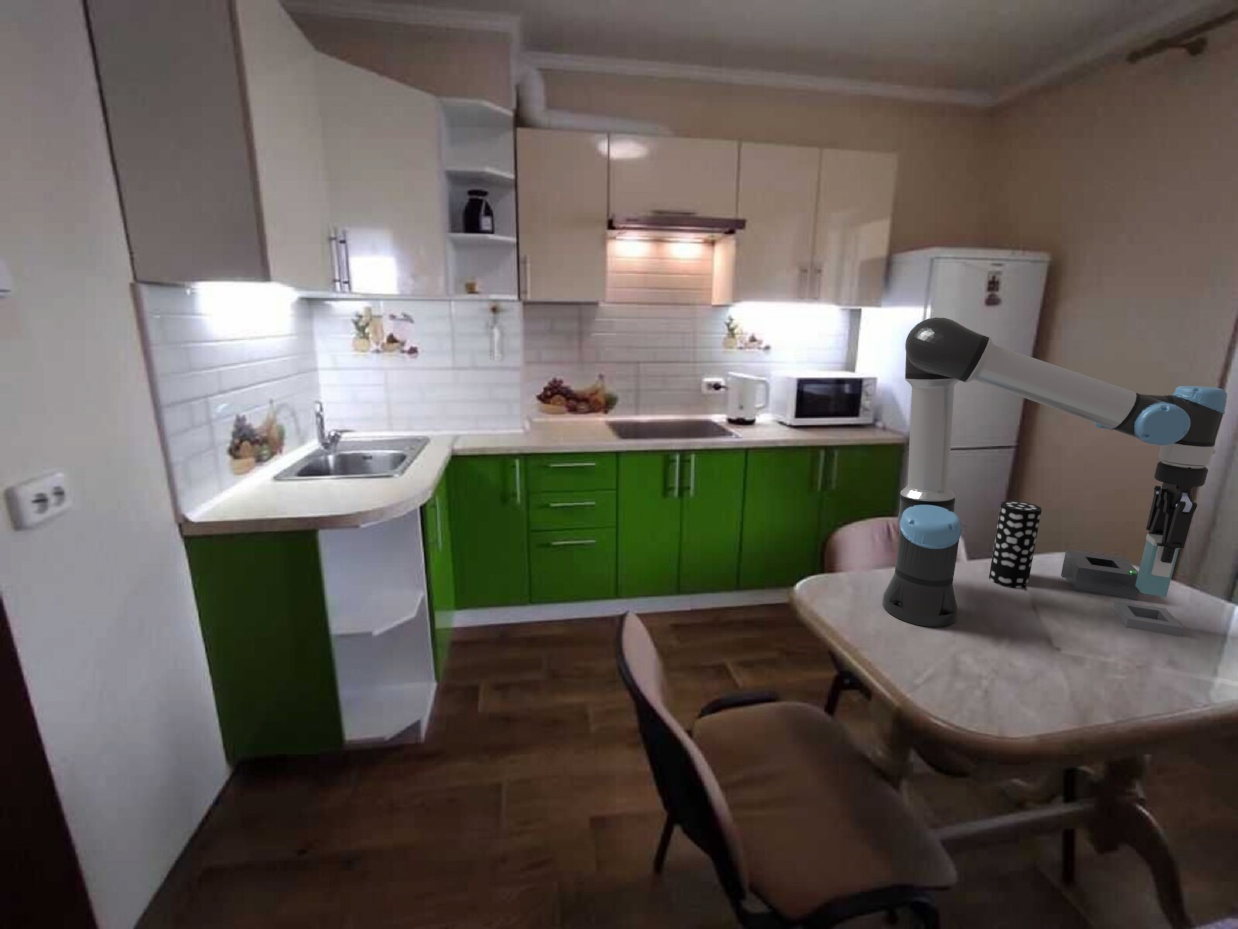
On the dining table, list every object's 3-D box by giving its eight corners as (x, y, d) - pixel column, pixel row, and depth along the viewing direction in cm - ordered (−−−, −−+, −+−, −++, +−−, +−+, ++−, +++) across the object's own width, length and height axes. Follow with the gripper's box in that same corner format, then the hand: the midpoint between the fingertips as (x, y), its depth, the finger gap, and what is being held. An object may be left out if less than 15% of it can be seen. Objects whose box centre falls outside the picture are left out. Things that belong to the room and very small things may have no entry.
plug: (1141, 593, 123) (1154, 540, 121) (1134, 585, 127) (1147, 533, 124) (1167, 597, 122) (1181, 543, 119) (1159, 589, 125) (1172, 536, 123)
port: (1073, 594, 141) (1078, 565, 139) (1060, 575, 151) (1066, 548, 150) (1136, 604, 136) (1143, 574, 134) (1119, 583, 147) (1125, 556, 145)
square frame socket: (1125, 631, 124) (1128, 618, 123) (1111, 612, 132) (1114, 600, 131) (1180, 640, 120) (1183, 627, 120) (1162, 621, 128) (1165, 608, 128)
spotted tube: (1035, 588, 144) (1050, 511, 139) (1001, 588, 144) (1014, 511, 139) (1014, 574, 152) (1027, 500, 147) (981, 574, 152) (993, 500, 147)
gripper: (1229, 476, 109) (1197, 591, 114) (1188, 456, 124) (1162, 559, 129) (1176, 471, 112) (1148, 583, 117) (1143, 453, 127) (1119, 553, 132)
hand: (1155, 570), depth 123 cm, fingers closed on plug, 4 cm apart
